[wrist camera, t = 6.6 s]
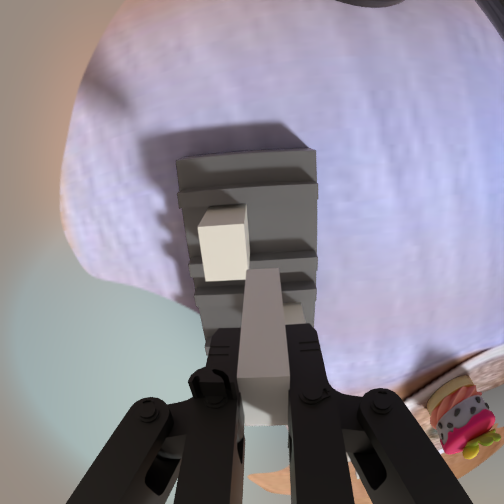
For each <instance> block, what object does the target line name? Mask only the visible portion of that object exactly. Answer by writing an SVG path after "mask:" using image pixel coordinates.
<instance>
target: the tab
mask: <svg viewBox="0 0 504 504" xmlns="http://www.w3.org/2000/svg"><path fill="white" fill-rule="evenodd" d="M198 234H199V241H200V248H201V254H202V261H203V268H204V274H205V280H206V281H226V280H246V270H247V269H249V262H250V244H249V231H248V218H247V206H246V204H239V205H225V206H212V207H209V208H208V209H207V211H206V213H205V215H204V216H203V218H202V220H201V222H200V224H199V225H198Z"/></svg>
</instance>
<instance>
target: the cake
mask: <svg viewBox="0 0 504 504" xmlns="http://www.w3.org/2000/svg"><path fill="white" fill-rule="evenodd" d="M481 395H482V392H477V391H476V385H474V383H473V382H472V380H471V379H470V377H469V376H465V375H464V376H459V377H457V378H454V379H452V380H451V381H449V382H447V383H446V384H444V385H443V386H442V387H440V388H439V389H438V390H437V391H436V392H435V393H434V394H433V395H432V396H431V398H430V399H429V401H428V403H427V409H428V412H429V414H430V416H431V417H430V424H431V425H432V427H433V428H435V429H436V430H437V432H438V434H439V437H440V442H441V445H442V447H443V450H444V452H445V453H446V454H455V453H458V452H461V451H463V452H462V453H463V456H464V458H466V459H472V458H474V457H475V456H476V455H477V453H478V452H479V445H478V443H480V444H481V445H483V446H489V445H491V444H492V443H493V441H499V440H500V439H501V436H500V435H499V434H497V433H495V431H496V430H495V429H493V430H491V431H489V430H490V429H491V428H492V426H493V425H494V422H495V416H494V414H493V413H492V412H491V411H490V410H489V406H488V404H487V403H485V402H484V400H483V398H482V397H481Z"/></svg>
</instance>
